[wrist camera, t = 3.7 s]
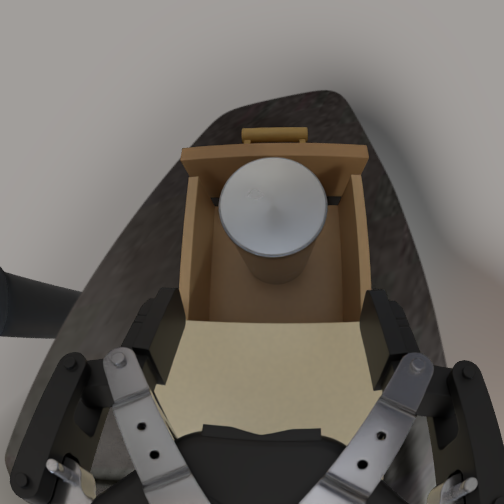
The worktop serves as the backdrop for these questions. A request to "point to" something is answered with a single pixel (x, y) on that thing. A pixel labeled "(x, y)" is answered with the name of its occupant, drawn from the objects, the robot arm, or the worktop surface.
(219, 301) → the drawer
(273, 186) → the metal can
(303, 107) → the worktop surface
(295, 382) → the cabinet
